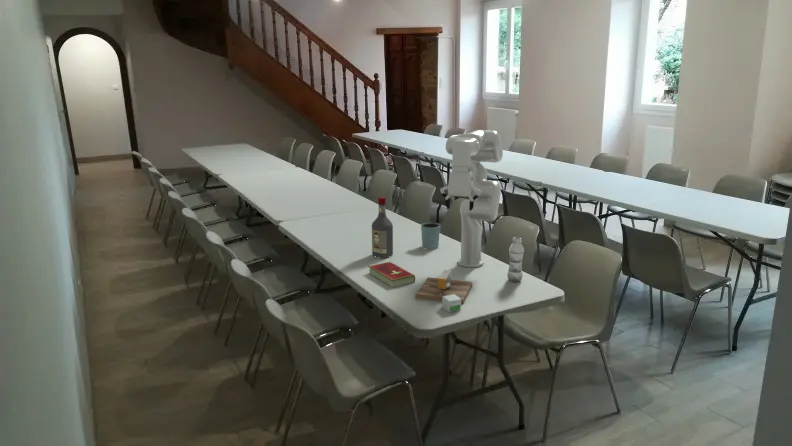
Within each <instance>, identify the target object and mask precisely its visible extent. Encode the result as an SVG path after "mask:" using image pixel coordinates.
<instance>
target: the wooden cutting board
mask: <svg viewBox="0 0 792 446" xmlns="http://www.w3.org/2000/svg"><path fill="white" fill-rule="evenodd" d="M438 278H439V277H429V276H427V277H426V279H425V280H424V282H423V283H422V285H420V287H419V289H418V290H417V292H416V293H415V299H418V300H419V299H420V300H427V301H428V300H429V301H436V302H442V297H443V296H447V295H452V294H455V295H456V296H458V297H459V298H460V299H461V305H464V304H465V302H466V299H467V297H468V296H469V293H470V292H471V289H472V287H473V281H465V280H457V279H456V280H455V279H451V280H450V282H449V283H450V288H449V289H440V288H438Z"/></svg>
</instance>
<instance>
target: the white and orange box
mask: <svg viewBox="0 0 792 446" xmlns="http://www.w3.org/2000/svg"><path fill="white" fill-rule="evenodd" d="M437 278H438V288H440V289H449V288H450V283H449V282H450V280H452V270H445V269H444V270H443V271H442V273H441V274H440V276H439V277H437Z"/></svg>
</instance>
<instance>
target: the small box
mask: <svg viewBox="0 0 792 446" xmlns="http://www.w3.org/2000/svg"><path fill="white" fill-rule="evenodd" d="M441 304H442V305H441V306H442V309H443V310H446V311H447V312H448V313H451V312H455V311H456V312H457V311H461V309H462V304H461V299H460V298H459V297H458V296H456V295H455V294H452V295H447V296H443V297H442V301H441Z"/></svg>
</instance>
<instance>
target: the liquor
mask: <svg viewBox="0 0 792 446" xmlns="http://www.w3.org/2000/svg"><path fill="white" fill-rule="evenodd" d="M386 199H387V198H386V196H379V197H377V200H378V214H377V216H376V218H375V219H374V221H373V222H372V224H371V254H372V257H374V256H376V257H375V258H377V257H380V258H379V259H381V258H384V259H387V257H388V258H390V257H393V255H394V243H393V242H394V233H393V232H394V228H393V227H394V226H393V222H392V221H391V220H390V219H389V217H387V213H386V211H387V210H386V204H387V203H386V202H387V201H386ZM389 256H390V257H389Z"/></svg>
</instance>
